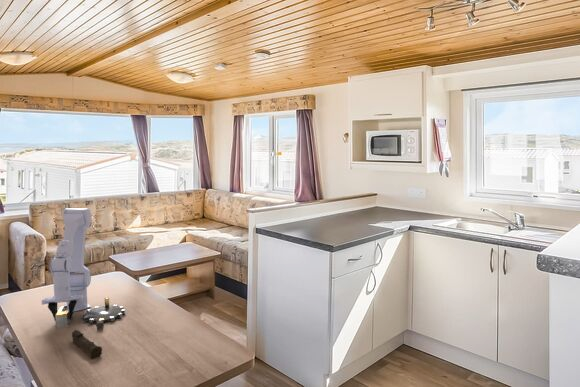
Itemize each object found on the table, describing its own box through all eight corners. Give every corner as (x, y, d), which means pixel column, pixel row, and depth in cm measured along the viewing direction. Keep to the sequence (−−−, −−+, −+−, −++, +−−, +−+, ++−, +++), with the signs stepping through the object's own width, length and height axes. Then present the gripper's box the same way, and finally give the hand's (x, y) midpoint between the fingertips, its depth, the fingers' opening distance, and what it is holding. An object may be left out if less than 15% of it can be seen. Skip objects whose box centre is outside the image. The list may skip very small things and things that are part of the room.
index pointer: (98, 326, 162) (97, 320, 162) (103, 325, 163) (103, 319, 163) (97, 329, 159) (96, 323, 159) (102, 328, 160) (102, 322, 160)
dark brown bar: (102, 356, 140) (102, 343, 139) (90, 360, 137) (90, 347, 136) (81, 338, 153) (80, 326, 152) (69, 342, 150) (69, 330, 149)
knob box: (61, 318, 170) (60, 305, 169) (72, 317, 171) (71, 304, 170) (56, 328, 160) (55, 315, 160) (67, 327, 162) (66, 314, 161)
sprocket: (73, 321, 166) (72, 308, 165) (100, 306, 182) (99, 294, 181) (108, 325, 162) (108, 312, 162) (132, 309, 178) (132, 298, 178)
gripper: (38, 291, 157) (40, 325, 159) (80, 288, 162) (81, 321, 163) (43, 285, 164) (45, 318, 166) (83, 282, 168) (84, 314, 170)
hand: (63, 319), depth 165 cm, fingers open, 5 cm apart
